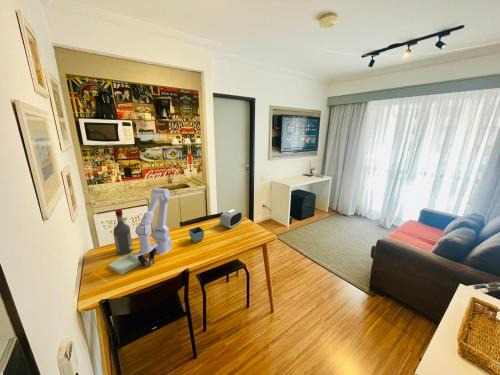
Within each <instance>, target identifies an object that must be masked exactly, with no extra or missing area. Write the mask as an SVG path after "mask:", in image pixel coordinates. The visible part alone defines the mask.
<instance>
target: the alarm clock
mask: <svg viewBox="0 0 500 375" xmlns="http://www.w3.org/2000/svg"><path fill="white" fill-rule="evenodd" d="M243 214H244V213H243V211H242V210H239V209H235V208H230V209H229V210H226V211H224V212H223V213H221V215H220V217H219V223H220V225H221V226H224V227H226V228H229V229H232V228H234V227H236V226H238V225H239V224H240V223H241V222H242V220H243Z"/></svg>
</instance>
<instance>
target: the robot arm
mask: <svg viewBox="0 0 500 375" xmlns="http://www.w3.org/2000/svg"><path fill="white" fill-rule="evenodd" d="M150 192H151V193H150V197H151V199H150V202H149V205H148V209H147V211H146V212H144V214H143V215H142V219H141V221H140V223H139V224H138V225H137V226H136V227H135V234H136V235H137V237H138V240H139V241H138V242H139V248H140V249H139V251H137V252H136V253H135V254H134V258H135V259H138V260H139V261H140V263H141V264H140V266H141V265H142V267H143V266H145V262H144V260H145V258H146V256H144V255H146V254H149V257H151V258H153V259H154V260H155V256H156V255H155V254H158V255H160V256H163V255H165V254H166V253H168V252H169V251H171V250H172V249H173V246H172V245H173V244H172V239H171V237H170V235H171V234H170V228H169V227H168V226H167V216H168V210H169V209H168V207H169V201H170V199H171V198H170V197H171V191H170V190H169V189H168V188H159V187H154V188H152V189H151V191H150ZM158 205H159V207H158ZM157 207H158V216H157V217H158V218H157V225H156V226H155V227H153V230H152V223H153V221H154V218H155V214H154V213H155V211H156V209H157ZM151 231H152V233H151ZM150 233H151V236H150ZM151 237H152V239H153V240H154V241H155V243H153V244H151V243H152V242H151Z"/></svg>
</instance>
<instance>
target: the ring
mask: <svg viewBox="0 0 500 375" xmlns="http://www.w3.org/2000/svg"><path fill="white" fill-rule="evenodd" d="M146 258H149V261H148V262H147V263H146V260H144V262H145V266H142V265H141V264H140V266H142V267H143V268H145V269H149V267H152V266H153V265H154V264H155V263H156V262H155V258H154V259H153V258H151V257H150V255H149V256H147V257H146V256H145V259H146Z"/></svg>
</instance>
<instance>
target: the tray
mask: <svg viewBox="0 0 500 375" xmlns="http://www.w3.org/2000/svg"><path fill="white" fill-rule="evenodd" d="M134 255H135V254H134ZM134 255H133V254H131V253H129V254H126V255H123V256H122V257H120V258H118V259H116V260H115V261H112V262H111V263H108V266H109V269H111V270H112V271H115V272H116V273H118V274H120V275H122V276H123V275H124V274H126V273H128V272H129V271H131V270H132V269H135V268H136V267H138V266H141V263H140V261H139V260H138V259H135V258H134Z"/></svg>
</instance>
